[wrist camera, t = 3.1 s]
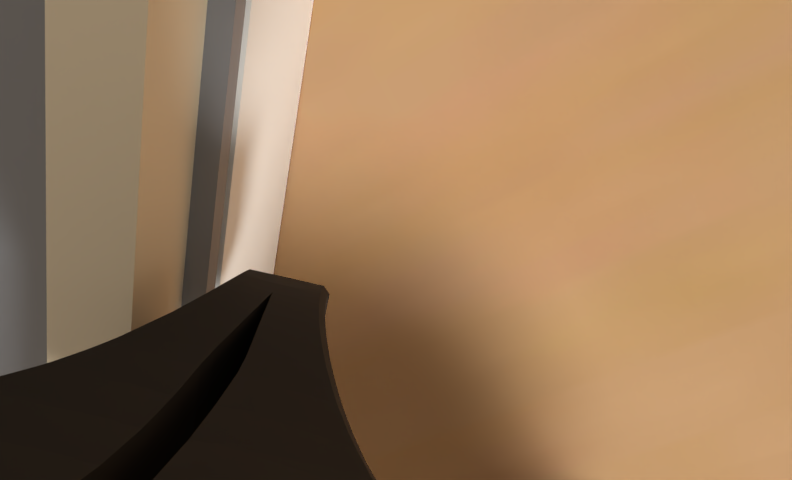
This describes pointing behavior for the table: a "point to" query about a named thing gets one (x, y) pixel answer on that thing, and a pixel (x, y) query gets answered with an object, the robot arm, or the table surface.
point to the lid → (109, 165)
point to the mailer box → (262, 133)
